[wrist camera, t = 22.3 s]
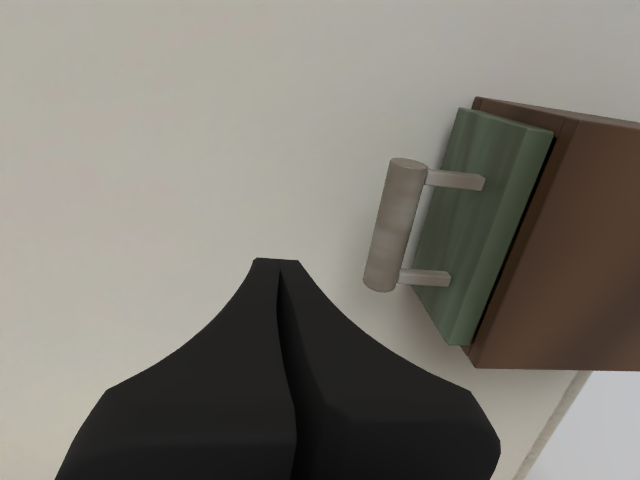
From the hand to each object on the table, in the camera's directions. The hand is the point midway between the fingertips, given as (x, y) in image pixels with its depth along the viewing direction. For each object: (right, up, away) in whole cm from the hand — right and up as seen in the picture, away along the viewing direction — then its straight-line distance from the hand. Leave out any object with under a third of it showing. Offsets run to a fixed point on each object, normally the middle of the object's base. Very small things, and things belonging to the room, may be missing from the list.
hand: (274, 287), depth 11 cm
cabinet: (+15, +3, +12) cm, 20 cm away
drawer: (+12, +3, +11) cm, 16 cm away
